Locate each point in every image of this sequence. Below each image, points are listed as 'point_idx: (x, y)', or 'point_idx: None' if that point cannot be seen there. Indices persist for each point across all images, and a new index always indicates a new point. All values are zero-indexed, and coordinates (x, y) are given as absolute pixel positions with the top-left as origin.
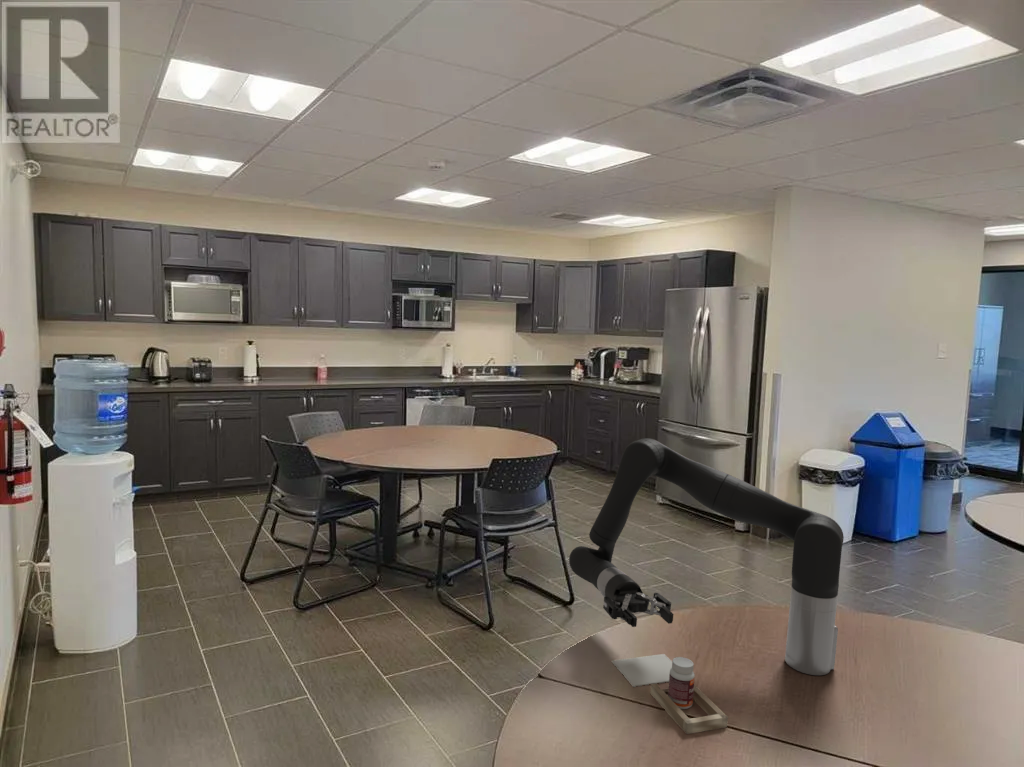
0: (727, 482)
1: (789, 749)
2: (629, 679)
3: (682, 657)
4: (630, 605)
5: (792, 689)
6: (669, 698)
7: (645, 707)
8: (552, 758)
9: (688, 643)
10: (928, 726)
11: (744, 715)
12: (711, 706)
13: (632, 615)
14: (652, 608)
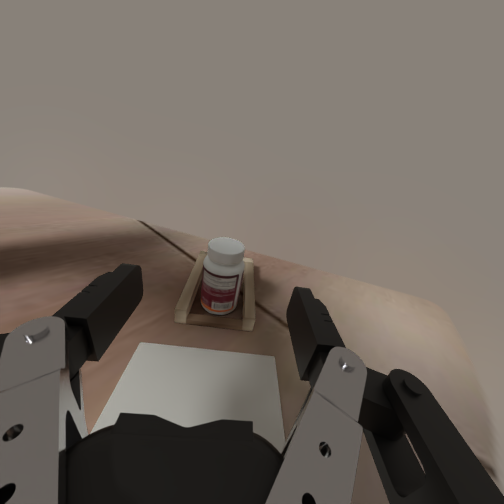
0: None
1: (172, 235)
2: (274, 379)
3: (216, 250)
4: (272, 446)
5: (9, 267)
6: (246, 287)
7: (275, 310)
8: (389, 289)
9: None
10: (3, 206)
11: (159, 264)
12: (202, 263)
13: (311, 296)
14: (78, 411)
